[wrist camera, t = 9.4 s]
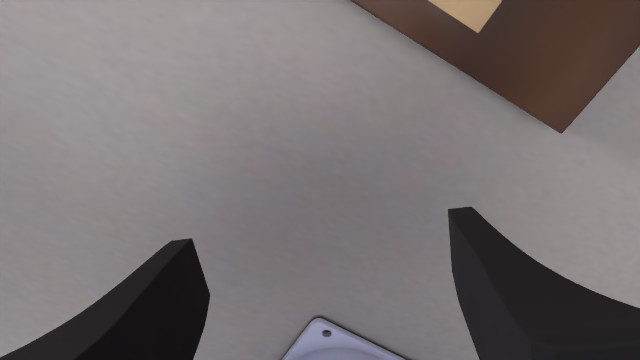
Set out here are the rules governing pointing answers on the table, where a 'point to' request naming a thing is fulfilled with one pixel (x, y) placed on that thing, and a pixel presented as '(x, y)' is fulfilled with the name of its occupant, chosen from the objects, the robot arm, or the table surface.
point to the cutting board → (525, 45)
